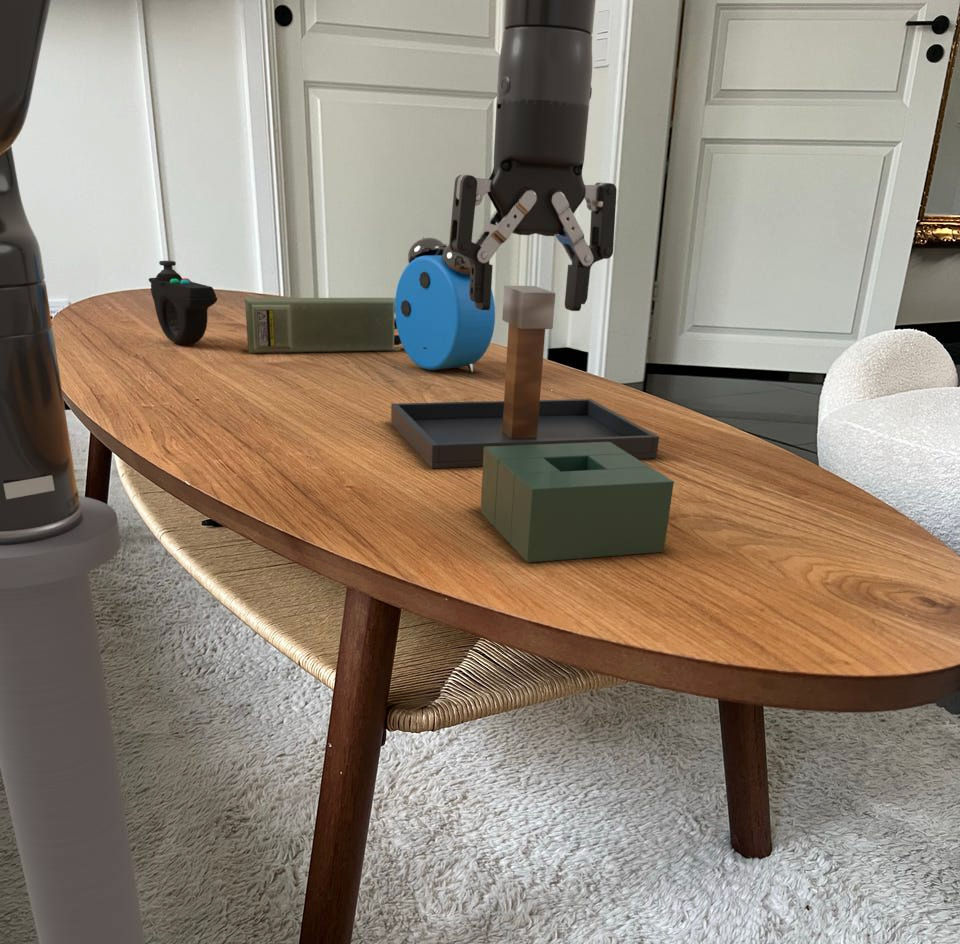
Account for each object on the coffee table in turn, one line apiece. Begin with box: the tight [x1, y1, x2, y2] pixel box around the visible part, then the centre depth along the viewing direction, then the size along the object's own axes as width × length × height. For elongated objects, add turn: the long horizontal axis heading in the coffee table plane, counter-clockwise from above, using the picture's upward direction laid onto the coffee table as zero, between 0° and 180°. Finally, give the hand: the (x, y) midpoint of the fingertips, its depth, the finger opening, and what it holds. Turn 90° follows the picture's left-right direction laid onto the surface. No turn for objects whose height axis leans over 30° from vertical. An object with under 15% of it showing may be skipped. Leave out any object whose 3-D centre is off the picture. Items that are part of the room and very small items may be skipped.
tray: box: [390, 398, 660, 469], centre depth 88 cm, size 21×15×2 cm
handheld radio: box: [244, 297, 402, 354], centre depth 124 cm, size 7×3×25 cm
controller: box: [148, 260, 218, 345], centre depth 121 cm, size 4×12×10 cm, turn 43°
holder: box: [480, 442, 675, 563], centre depth 65 cm, size 10×10×5 cm
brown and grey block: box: [501, 284, 556, 439], centre depth 85 cm, size 3×5×13 cm, turn 18°
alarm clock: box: [394, 236, 496, 373], centre depth 114 cm, size 13×6×15 cm, turn 40°
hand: (527, 309), depth 83 cm, fingers open, 8 cm apart
